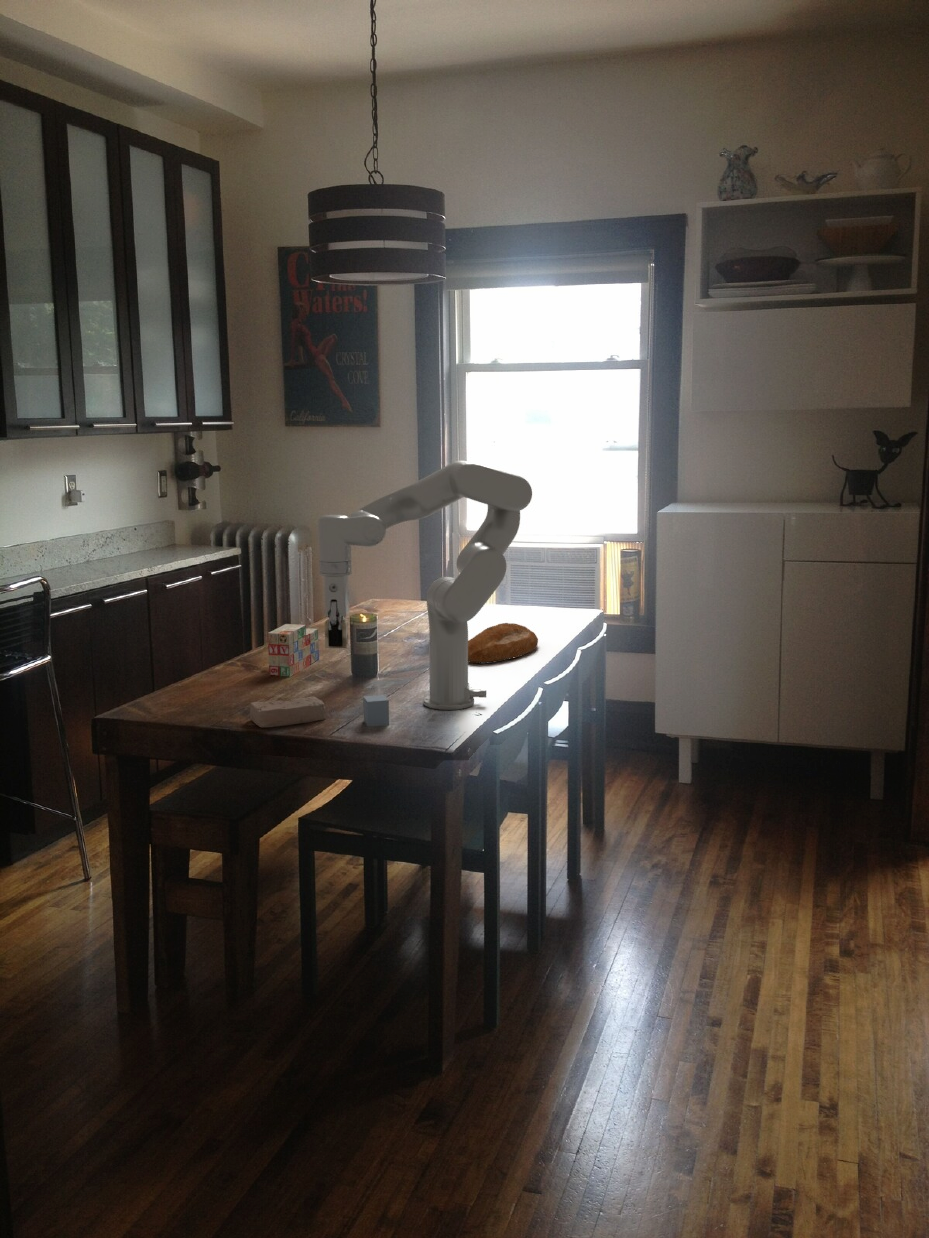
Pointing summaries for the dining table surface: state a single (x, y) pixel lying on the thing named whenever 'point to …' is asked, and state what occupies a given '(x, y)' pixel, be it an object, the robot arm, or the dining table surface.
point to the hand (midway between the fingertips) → (336, 642)
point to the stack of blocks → (292, 649)
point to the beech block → (344, 633)
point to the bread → (501, 643)
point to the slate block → (376, 710)
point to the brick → (287, 712)
